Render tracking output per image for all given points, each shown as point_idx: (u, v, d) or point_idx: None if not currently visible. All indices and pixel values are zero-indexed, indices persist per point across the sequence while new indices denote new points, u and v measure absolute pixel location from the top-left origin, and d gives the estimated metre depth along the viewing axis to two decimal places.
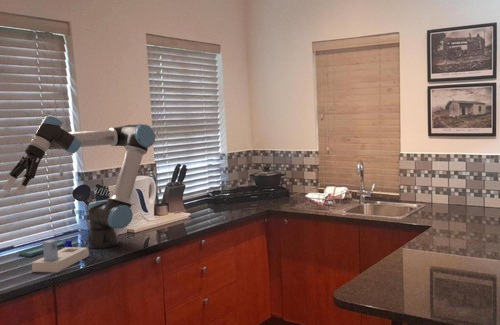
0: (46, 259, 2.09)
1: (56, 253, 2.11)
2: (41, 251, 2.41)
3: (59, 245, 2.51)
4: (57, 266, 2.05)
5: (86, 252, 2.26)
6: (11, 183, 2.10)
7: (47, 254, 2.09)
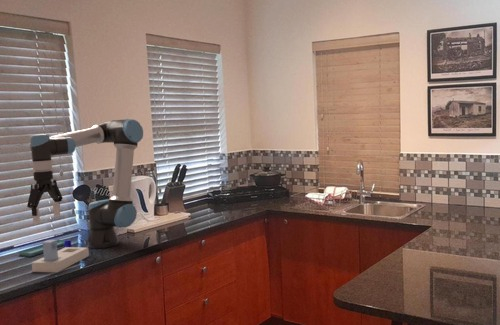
0: (46, 259, 2.09)
1: (56, 253, 2.11)
2: (41, 251, 2.41)
3: (59, 245, 2.51)
4: (57, 266, 2.05)
5: (86, 252, 2.26)
6: (56, 208, 2.15)
7: (47, 254, 2.09)
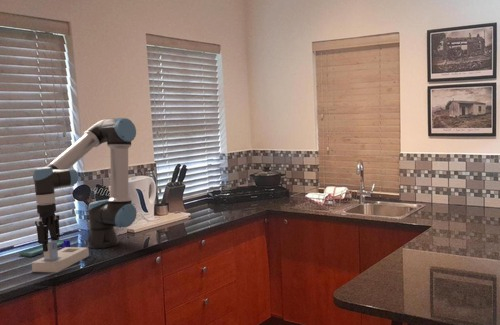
0: (46, 259, 2.09)
1: (56, 253, 2.11)
2: (42, 251, 2.41)
3: (59, 245, 2.52)
4: (57, 266, 2.05)
5: (86, 252, 2.26)
6: None
7: None
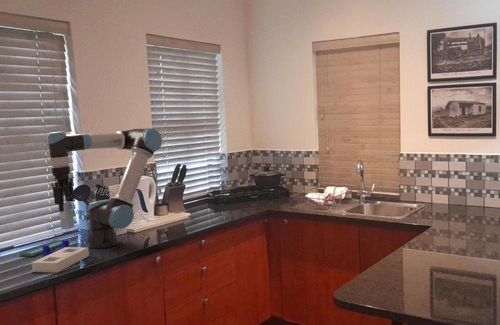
0: (62, 219, 2.20)
1: (71, 213, 2.22)
2: (42, 251, 2.41)
3: (59, 245, 2.52)
4: (57, 266, 2.05)
5: (86, 252, 2.26)
6: None
7: None
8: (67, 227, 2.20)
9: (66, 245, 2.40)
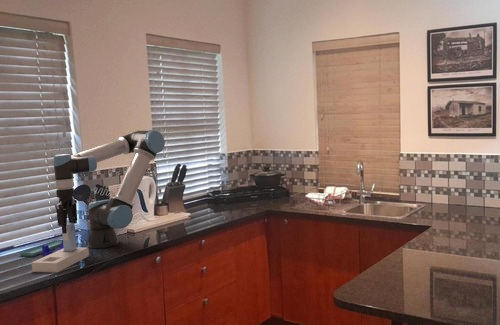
0: (65, 240, 2.22)
1: (74, 235, 2.24)
2: None
3: (59, 245, 2.52)
4: (57, 266, 2.05)
5: (86, 252, 2.26)
6: None
7: None
8: (69, 249, 2.22)
9: None
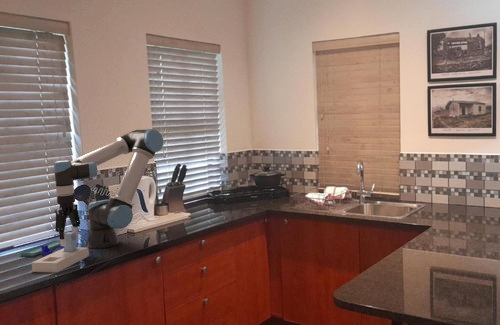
0: (66, 250, 2.23)
1: (75, 244, 2.25)
2: None
3: (59, 245, 2.52)
4: (57, 266, 2.05)
5: (86, 252, 2.26)
6: None
7: None
8: None
9: None
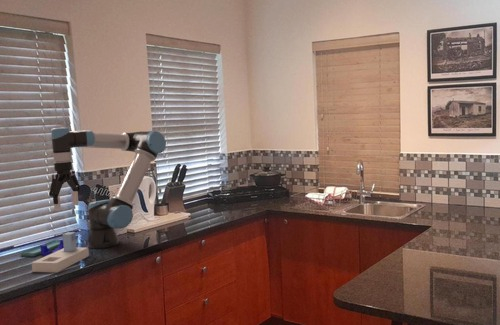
0: (66, 250, 2.23)
1: (75, 244, 2.25)
2: None
3: None
4: (57, 266, 2.05)
5: (86, 252, 2.26)
6: (75, 197, 2.28)
7: (66, 245, 2.22)
8: None
9: None
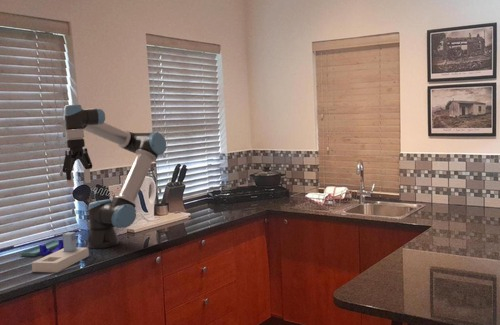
0: (66, 250, 2.23)
1: (75, 244, 2.25)
2: None
3: None
4: (57, 266, 2.05)
5: (86, 252, 2.26)
6: (87, 175, 2.30)
7: (66, 245, 2.22)
8: None
9: (63, 245, 2.42)
